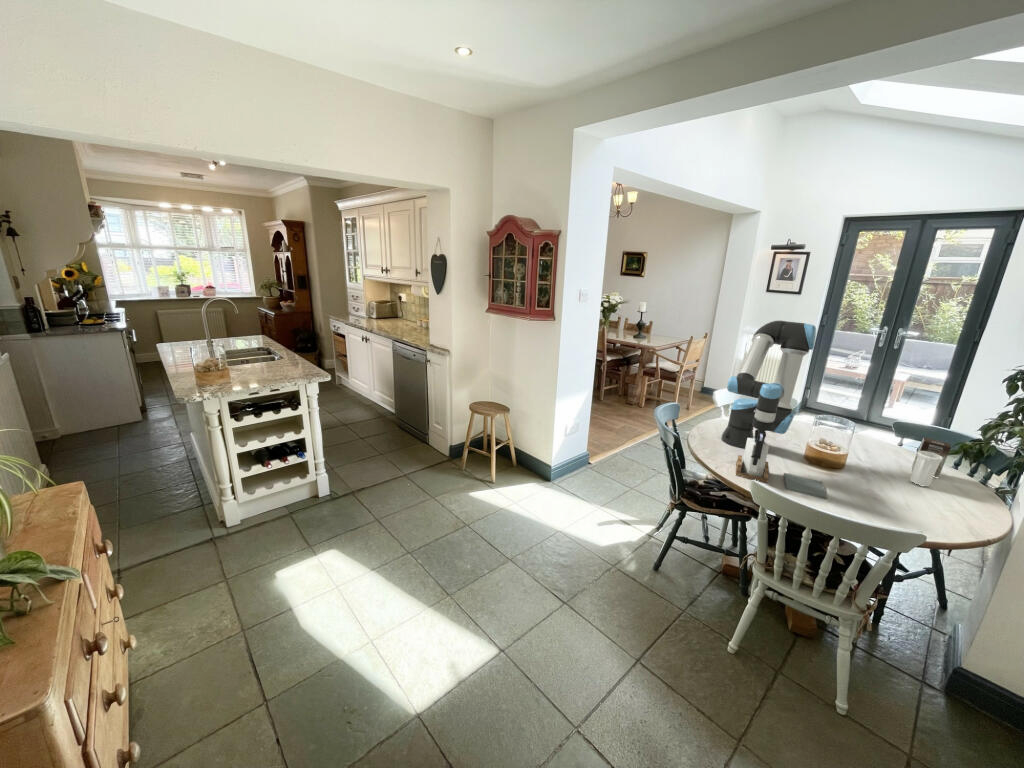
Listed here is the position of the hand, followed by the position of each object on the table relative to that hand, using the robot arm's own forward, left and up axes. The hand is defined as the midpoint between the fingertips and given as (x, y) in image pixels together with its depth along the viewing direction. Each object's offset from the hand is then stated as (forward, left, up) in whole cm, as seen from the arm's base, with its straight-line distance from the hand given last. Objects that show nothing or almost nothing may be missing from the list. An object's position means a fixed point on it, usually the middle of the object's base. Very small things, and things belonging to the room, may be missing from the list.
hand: (752, 466), depth 184 cm
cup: (-32, +66, -4) cm, 73 cm away
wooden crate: (0, 0, -4) cm, 4 cm away
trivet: (0, +20, -4) cm, 20 cm away
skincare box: (0, 0, -4) cm, 4 cm away
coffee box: (-47, +72, -4) cm, 86 cm away
